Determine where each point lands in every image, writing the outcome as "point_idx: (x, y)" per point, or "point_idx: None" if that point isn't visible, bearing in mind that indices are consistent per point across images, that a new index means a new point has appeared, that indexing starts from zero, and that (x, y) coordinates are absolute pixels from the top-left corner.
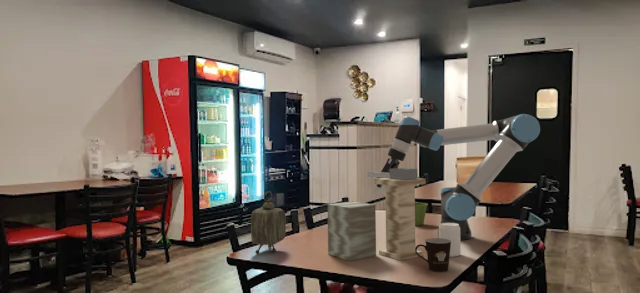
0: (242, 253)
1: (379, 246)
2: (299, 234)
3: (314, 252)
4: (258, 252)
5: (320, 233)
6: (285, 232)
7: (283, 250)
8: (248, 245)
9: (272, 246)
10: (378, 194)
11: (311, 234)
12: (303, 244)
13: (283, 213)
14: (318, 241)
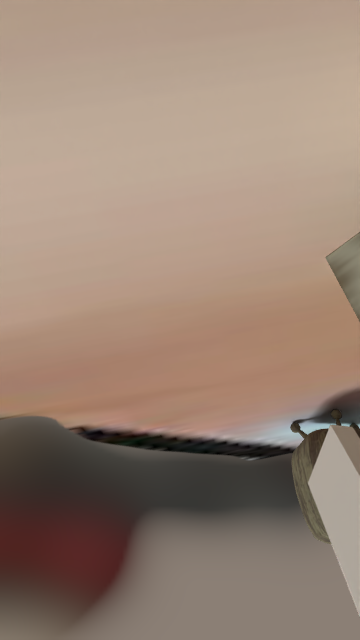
0: None
1: (266, 154)
2: (111, 419)
3: (355, 347)
4: (357, 426)
5: (71, 389)
6: (320, 445)
7: (319, 401)
8: (263, 450)
9: (340, 424)
10: (357, 437)
11: (98, 402)
12: (244, 387)
13: None
14: (196, 370)
